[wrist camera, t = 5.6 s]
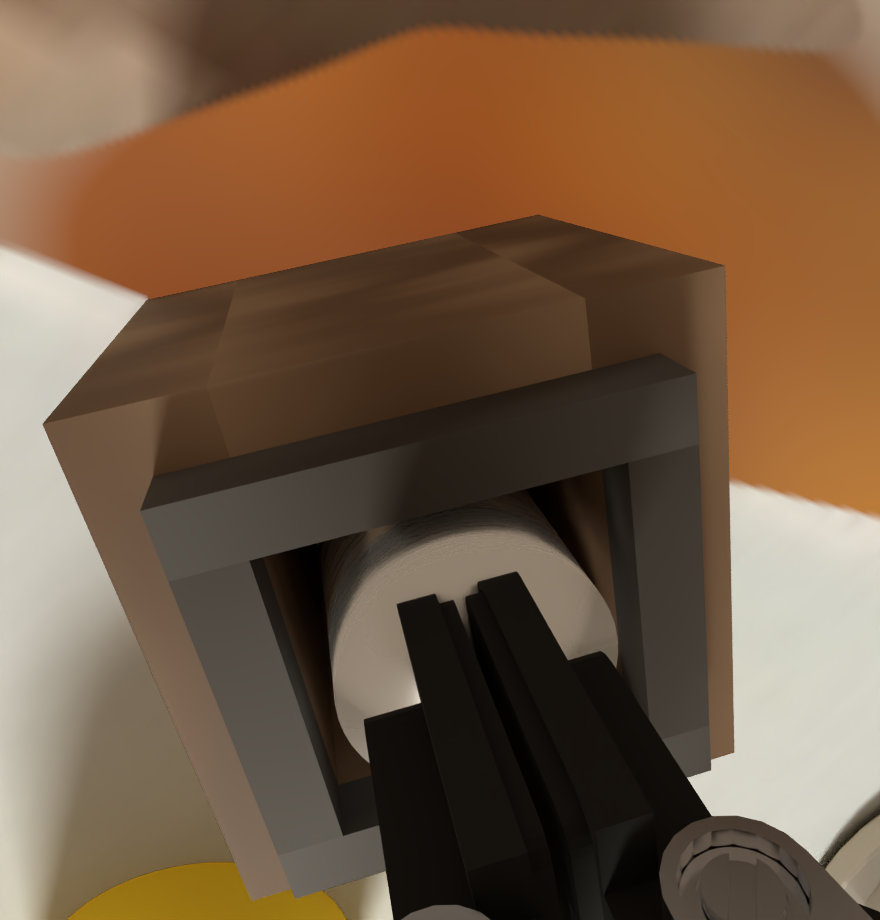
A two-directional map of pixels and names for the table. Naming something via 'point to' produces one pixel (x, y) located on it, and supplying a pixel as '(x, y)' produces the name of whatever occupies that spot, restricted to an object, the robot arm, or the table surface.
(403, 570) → the peg
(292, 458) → the socket block
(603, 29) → the table surface
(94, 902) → the tape roll
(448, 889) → the robot arm
